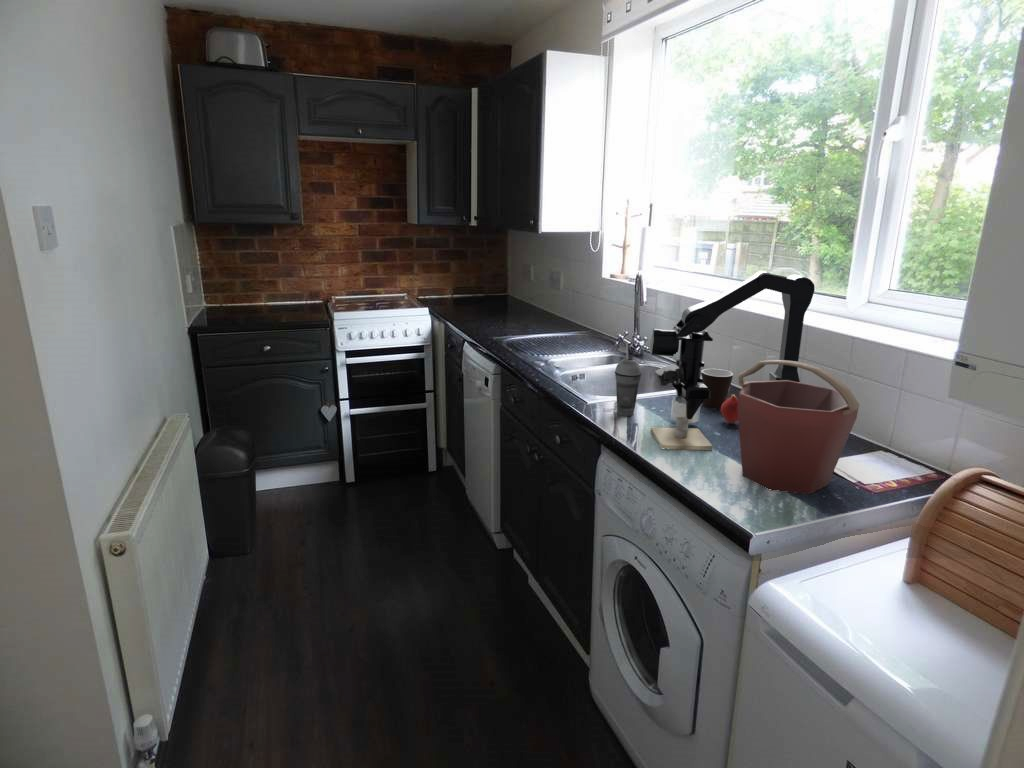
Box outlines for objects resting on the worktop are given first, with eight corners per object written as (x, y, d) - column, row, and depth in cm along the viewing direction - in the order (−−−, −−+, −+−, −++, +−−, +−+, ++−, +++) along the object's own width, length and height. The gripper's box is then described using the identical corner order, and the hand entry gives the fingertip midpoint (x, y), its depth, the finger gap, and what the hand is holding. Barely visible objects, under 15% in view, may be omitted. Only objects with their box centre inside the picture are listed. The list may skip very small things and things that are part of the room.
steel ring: (694, 414, 167) (696, 396, 166) (702, 423, 160) (704, 404, 159) (668, 413, 167) (669, 396, 165) (674, 422, 160) (676, 404, 159)
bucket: (705, 462, 141) (717, 354, 134) (778, 448, 149) (793, 347, 142) (791, 510, 119) (811, 385, 112) (870, 491, 128) (894, 374, 121)
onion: (741, 421, 168) (745, 392, 166) (743, 428, 163) (746, 399, 160) (718, 418, 170) (722, 390, 167) (719, 425, 164) (723, 396, 162)
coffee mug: (723, 412, 175) (727, 378, 172) (693, 406, 180) (697, 373, 177) (736, 402, 183) (740, 370, 181) (708, 397, 188) (711, 365, 186)
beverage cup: (626, 419, 168) (632, 347, 162) (606, 412, 173) (611, 342, 167) (644, 414, 172) (649, 343, 167) (623, 407, 178) (628, 338, 172)
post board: (697, 431, 159) (699, 409, 158) (712, 449, 148) (714, 426, 146) (650, 431, 159) (652, 409, 158) (661, 449, 148) (663, 425, 146)
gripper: (651, 348, 168) (647, 403, 172) (668, 365, 150) (663, 426, 154) (692, 348, 168) (687, 403, 172) (714, 366, 150) (707, 427, 154)
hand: (685, 414), depth 163 cm, fingers closed on steel ring, 7 cm apart
